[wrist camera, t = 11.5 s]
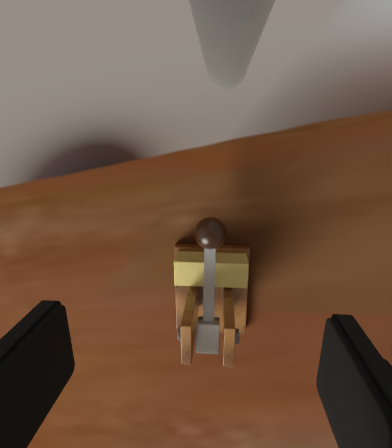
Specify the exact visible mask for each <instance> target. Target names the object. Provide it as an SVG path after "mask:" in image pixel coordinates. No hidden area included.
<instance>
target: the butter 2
mask: <svg viewBox="0 0 392 448" xmlns="http://www.w3.org/2000/svg"><path fill="white" fill-rule="evenodd" d="M248 268H249V264H248V259H247V254H246V253H221V252H216V265H215V287H227V288H247V285H248Z"/></svg>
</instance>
